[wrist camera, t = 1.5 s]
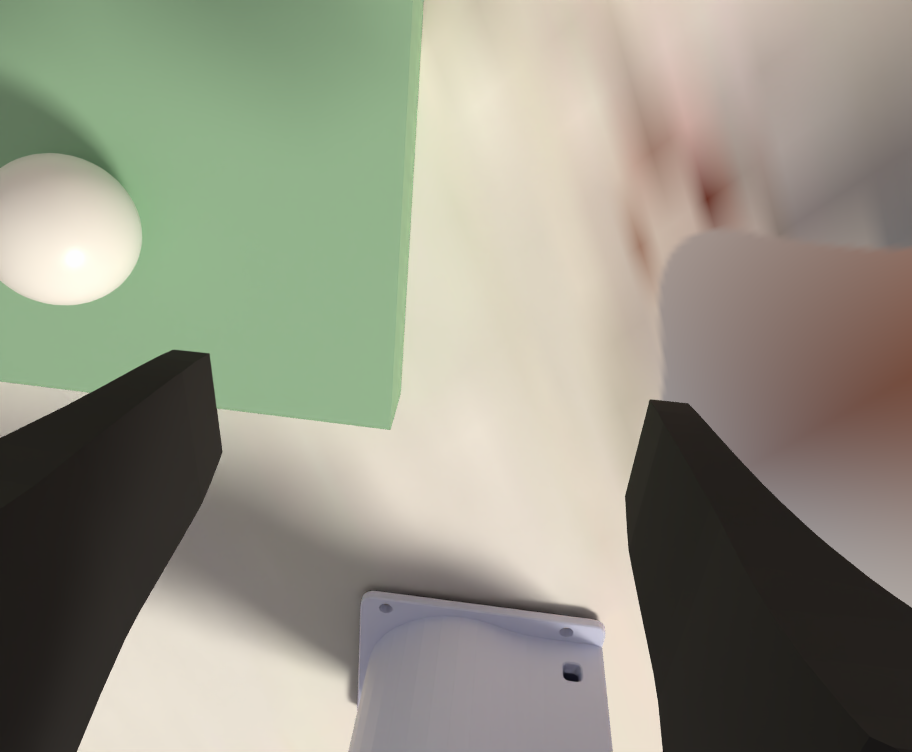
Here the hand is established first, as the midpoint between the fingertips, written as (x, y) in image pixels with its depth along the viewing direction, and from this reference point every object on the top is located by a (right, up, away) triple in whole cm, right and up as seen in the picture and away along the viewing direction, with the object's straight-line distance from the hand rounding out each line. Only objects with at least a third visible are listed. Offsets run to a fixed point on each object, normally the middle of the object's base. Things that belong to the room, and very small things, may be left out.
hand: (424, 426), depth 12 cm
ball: (-9, +4, +6) cm, 11 cm away
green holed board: (-12, +7, +9) cm, 16 cm away
